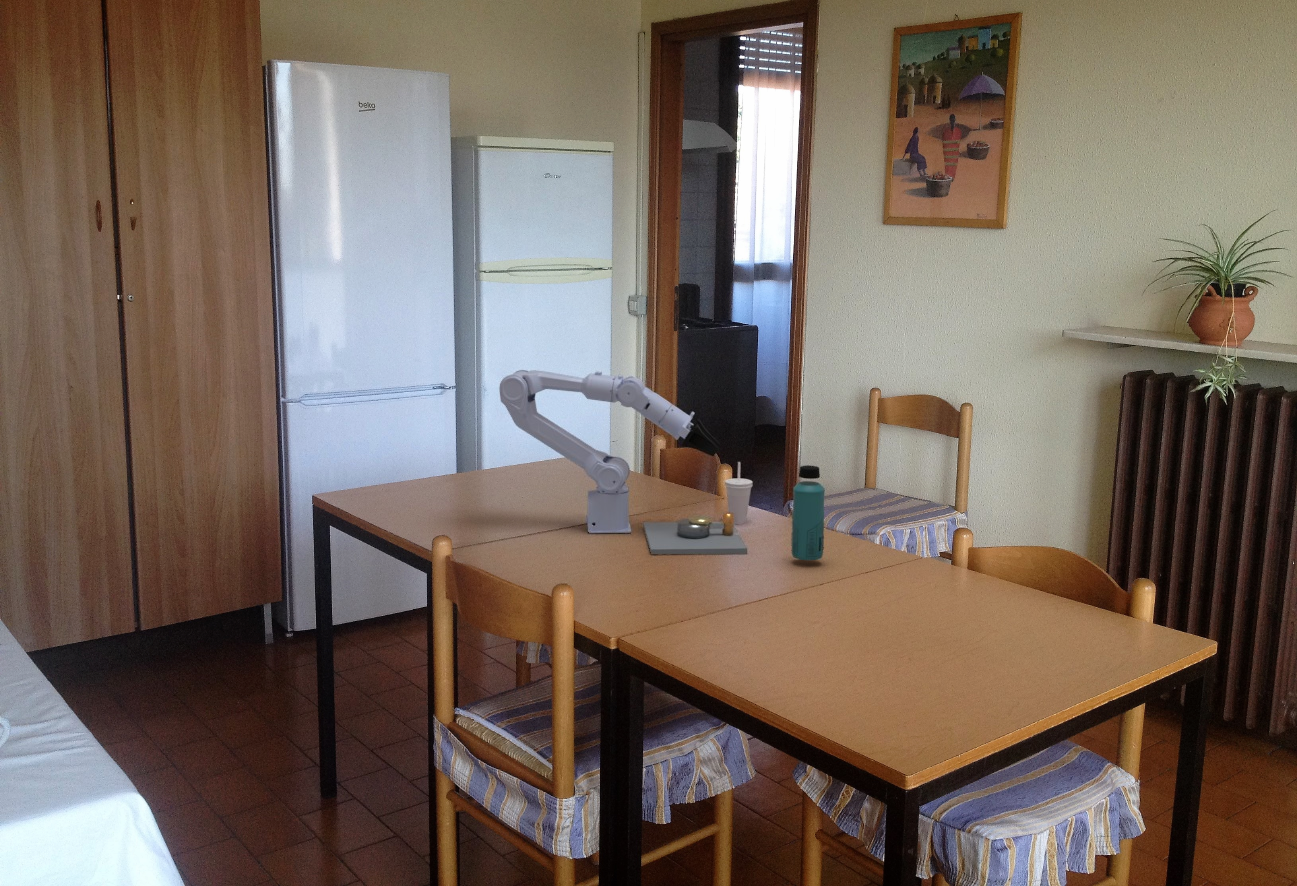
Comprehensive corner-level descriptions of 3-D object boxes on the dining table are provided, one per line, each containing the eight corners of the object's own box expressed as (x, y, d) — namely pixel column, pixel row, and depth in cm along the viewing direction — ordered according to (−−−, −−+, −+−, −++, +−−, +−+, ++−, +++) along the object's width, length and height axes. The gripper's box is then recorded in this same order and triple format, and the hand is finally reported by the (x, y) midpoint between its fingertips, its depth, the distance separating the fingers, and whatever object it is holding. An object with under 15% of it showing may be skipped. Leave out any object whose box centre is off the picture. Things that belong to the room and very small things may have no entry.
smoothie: (751, 519, 269) (753, 460, 266) (751, 526, 263) (753, 465, 260) (724, 518, 270) (725, 459, 267) (723, 525, 263) (724, 465, 261)
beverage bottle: (822, 568, 231) (826, 470, 227) (788, 566, 232) (792, 468, 228) (824, 559, 237) (827, 463, 233) (791, 557, 238) (794, 462, 235)
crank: (678, 538, 247) (679, 517, 246) (675, 529, 253) (675, 509, 253) (735, 537, 247) (736, 517, 247) (730, 529, 254) (731, 509, 254)
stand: (651, 555, 239) (651, 548, 239) (643, 527, 261) (643, 522, 260) (747, 553, 241) (747, 547, 240) (731, 526, 262) (731, 521, 262)
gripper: (673, 402, 245) (726, 438, 245) (677, 397, 259) (728, 431, 259) (654, 430, 246) (707, 466, 246) (660, 423, 260) (710, 457, 260)
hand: (716, 450), depth 252 cm, fingers open, 7 cm apart
